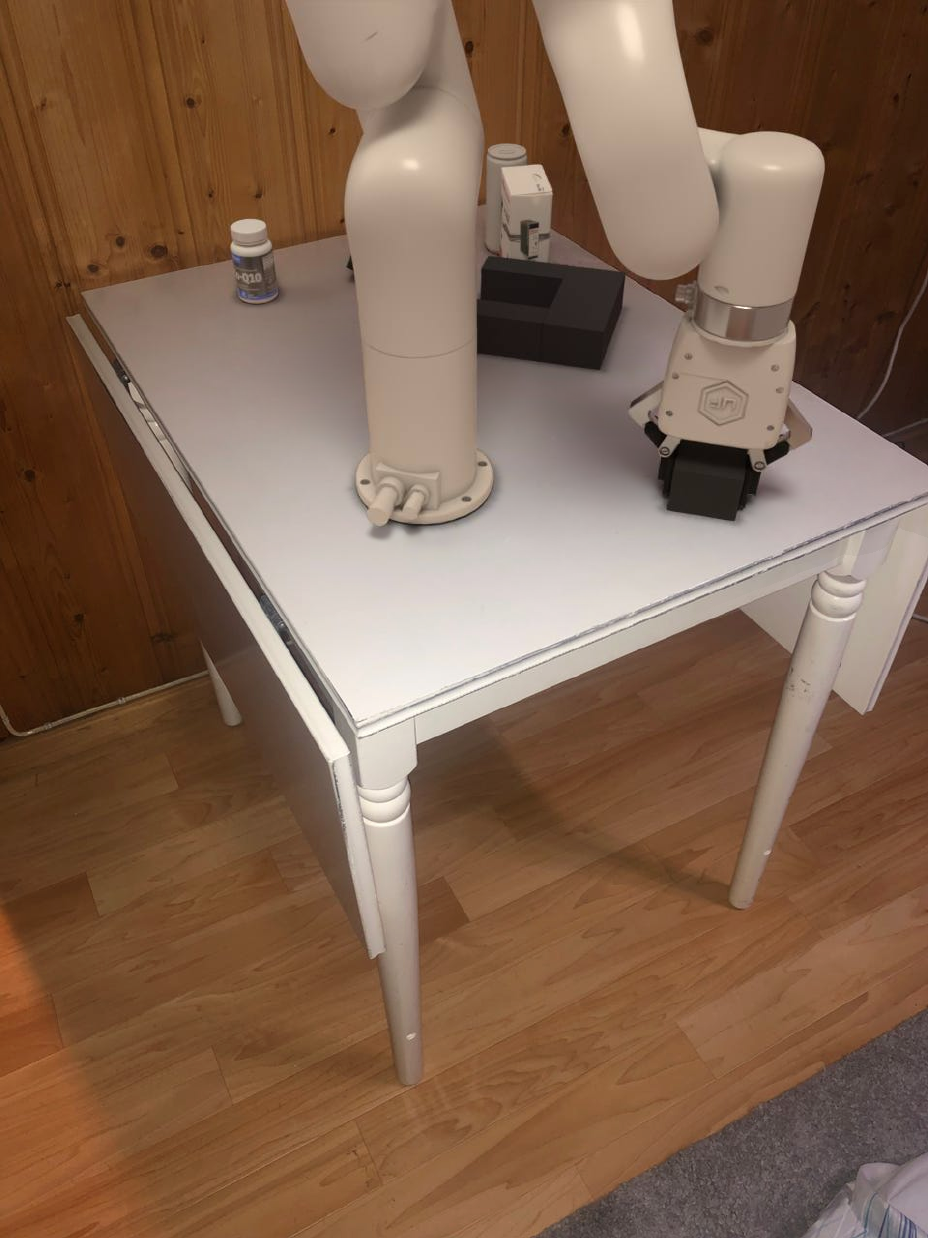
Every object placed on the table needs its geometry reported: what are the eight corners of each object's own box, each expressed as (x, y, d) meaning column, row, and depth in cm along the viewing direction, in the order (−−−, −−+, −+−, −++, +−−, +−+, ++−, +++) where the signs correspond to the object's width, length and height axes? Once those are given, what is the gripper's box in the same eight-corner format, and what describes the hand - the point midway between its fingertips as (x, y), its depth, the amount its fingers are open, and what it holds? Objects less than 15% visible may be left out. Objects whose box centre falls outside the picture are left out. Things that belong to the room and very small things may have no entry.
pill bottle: (231, 300, 119) (218, 230, 113) (250, 283, 122) (239, 214, 117) (267, 307, 118) (256, 236, 112) (285, 289, 121) (276, 219, 115)
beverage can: (524, 256, 127) (527, 157, 119) (485, 256, 127) (486, 157, 119) (523, 239, 131) (526, 142, 122) (485, 239, 131) (486, 142, 122)
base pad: (455, 349, 111) (454, 311, 108) (488, 291, 121) (488, 255, 117) (600, 370, 108) (603, 331, 105) (621, 308, 117) (626, 271, 114)
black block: (734, 521, 90) (744, 479, 86) (666, 510, 91) (673, 468, 88) (740, 481, 94) (749, 440, 91) (675, 471, 95) (682, 430, 92)
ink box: (497, 261, 126) (499, 164, 118) (536, 259, 127) (541, 162, 118) (507, 293, 120) (510, 193, 112) (548, 291, 121) (553, 191, 112)
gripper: (624, 315, 78) (603, 501, 91) (856, 345, 75) (800, 533, 88) (639, 272, 84) (617, 454, 96) (856, 298, 80) (804, 483, 93)
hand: (705, 490), depth 92 cm, fingers closed on black block, 6 cm apart
